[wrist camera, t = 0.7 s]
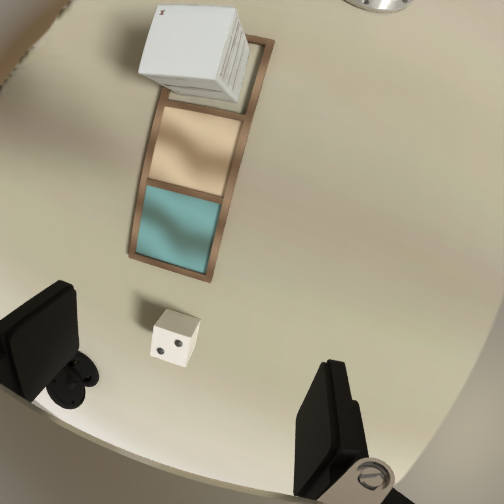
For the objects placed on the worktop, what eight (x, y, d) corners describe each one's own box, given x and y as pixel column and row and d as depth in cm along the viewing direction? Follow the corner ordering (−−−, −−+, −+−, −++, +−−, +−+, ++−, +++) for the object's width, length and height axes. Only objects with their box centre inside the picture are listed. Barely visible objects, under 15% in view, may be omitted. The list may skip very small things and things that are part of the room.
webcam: (59, 357, 49) (30, 387, 40) (78, 343, 48) (47, 376, 38) (86, 388, 51) (61, 421, 41) (107, 377, 49) (81, 413, 39)
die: (165, 307, 43) (152, 325, 38) (200, 319, 43) (190, 338, 38) (161, 336, 45) (148, 355, 40) (194, 347, 45) (184, 368, 40)
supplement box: (179, 96, 35) (133, 73, 23) (194, 42, 33) (156, 1, 21) (238, 105, 35) (215, 81, 23) (252, 49, 32) (236, 4, 20)
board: (183, 28, 32) (181, 26, 31) (274, 42, 32) (274, 39, 31) (131, 255, 41) (128, 257, 41) (211, 280, 41) (210, 283, 40)
